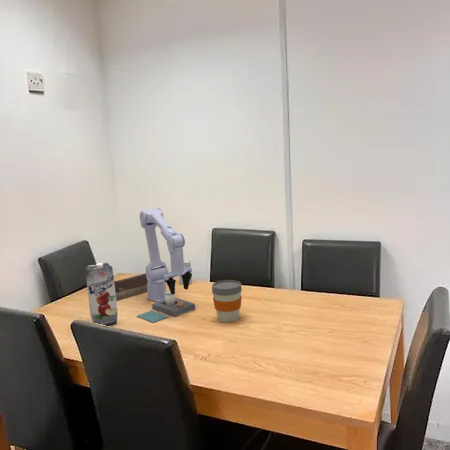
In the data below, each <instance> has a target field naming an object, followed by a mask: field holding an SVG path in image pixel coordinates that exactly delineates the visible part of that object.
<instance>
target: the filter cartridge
mask: <svg viewBox="0 0 450 450" xmlns="http://www.w3.org/2000/svg"><path fill="white" fill-rule="evenodd" d="M175 294H176V293H175ZM175 294H171V292H170V289H168V290H167V289H166V291H165V301H166V305H167V306H171V305H174V304H175V298H176V295H175Z"/></svg>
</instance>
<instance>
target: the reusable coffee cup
mask: <svg viewBox="0 0 450 450" xmlns="http://www.w3.org/2000/svg"><path fill="white" fill-rule="evenodd" d="M211 285H212V286H211V293H212V295H213V296H212V297H213V298H212V300H213V305H214V309H215V312H216V314H217V320H218V321H219V322H221V323H233V322H236V321H238V320H239V319H240V310H241V307H242V297H243V296H242V295H241V293H242V289H243V288H242V283H241V282H240V281H239V280H234V279H233V280H232V279H225V280H219V281H218V280H217V281H216V282H214V283H212V284H211Z"/></svg>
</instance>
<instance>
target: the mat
mask: <svg viewBox="0 0 450 450" xmlns="http://www.w3.org/2000/svg"><path fill="white" fill-rule="evenodd" d="M136 317H137V318H139V319H142V320H144V321H146V322H149V323H152V324H155V323H158V322H160V321H163V320H166V319H168V318H169V315H167V314H164V313H161V312H158V311H156V310H153V309H152V310H149V311H146V312H143V313H140V314H138V315H136Z"/></svg>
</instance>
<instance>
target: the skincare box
mask: <svg viewBox="0 0 450 450" xmlns="http://www.w3.org/2000/svg"><path fill="white" fill-rule="evenodd" d="M191 265H192V264H191V260H184V268H188V267H189V268H192V266H191ZM178 277H179V285H183V279H182V276H181V275H180V276H178ZM192 278H193V276H192V277H191V279H190V282H189V285H190V284H192V282H193V279H192Z"/></svg>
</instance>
